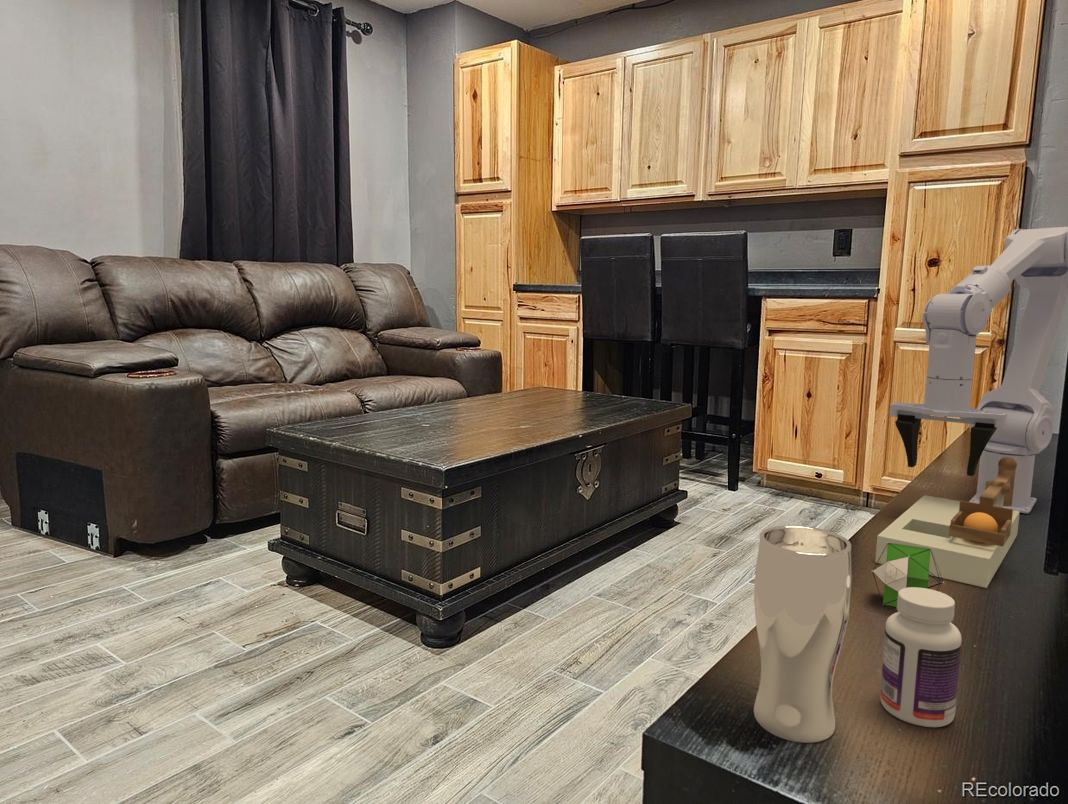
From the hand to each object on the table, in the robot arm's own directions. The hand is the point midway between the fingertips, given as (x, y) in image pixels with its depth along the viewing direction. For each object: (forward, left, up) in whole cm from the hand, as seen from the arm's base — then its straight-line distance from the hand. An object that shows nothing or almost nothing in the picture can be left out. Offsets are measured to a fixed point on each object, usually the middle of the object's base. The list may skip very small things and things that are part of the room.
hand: (940, 470), depth 105 cm
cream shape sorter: (+11, +4, -8) cm, 14 cm away
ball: (+17, +8, -3) cm, 19 cm away
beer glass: (+63, +3, -8) cm, 64 cm away
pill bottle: (+55, +10, -8) cm, 56 cm away
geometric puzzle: (+34, +4, -8) cm, 35 cm away
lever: (+9, +8, -4) cm, 12 cm away
